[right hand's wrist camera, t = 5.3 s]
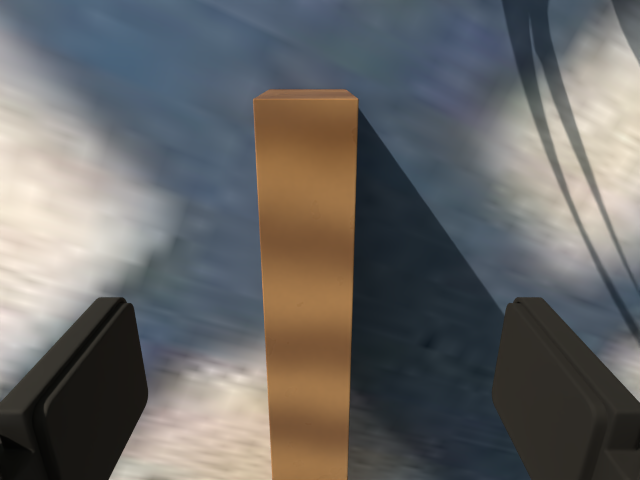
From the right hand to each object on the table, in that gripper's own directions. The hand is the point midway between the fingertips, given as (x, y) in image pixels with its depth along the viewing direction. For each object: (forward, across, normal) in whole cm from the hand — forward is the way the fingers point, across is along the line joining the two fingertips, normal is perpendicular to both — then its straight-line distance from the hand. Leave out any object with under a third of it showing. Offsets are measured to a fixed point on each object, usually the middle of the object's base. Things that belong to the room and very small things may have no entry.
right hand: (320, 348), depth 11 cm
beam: (+20, -1, -35) cm, 40 cm away
